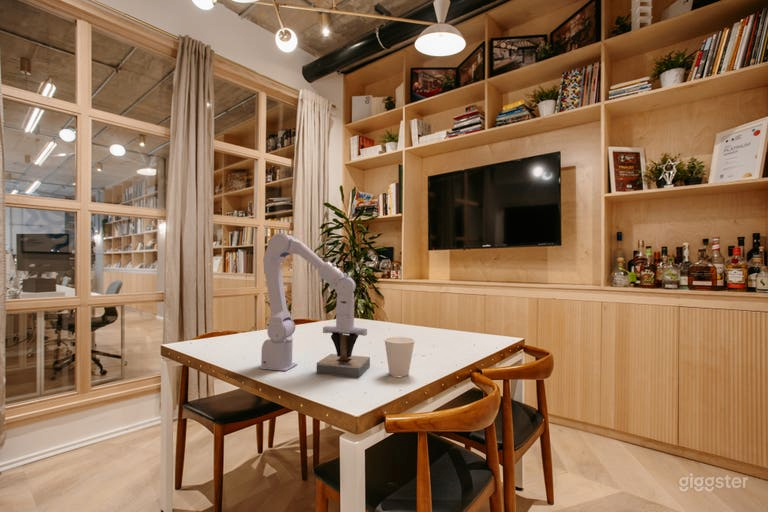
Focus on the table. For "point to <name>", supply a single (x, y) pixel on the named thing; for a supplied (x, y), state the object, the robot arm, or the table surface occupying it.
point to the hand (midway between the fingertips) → (344, 356)
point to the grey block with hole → (343, 366)
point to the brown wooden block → (343, 348)
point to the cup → (399, 354)
